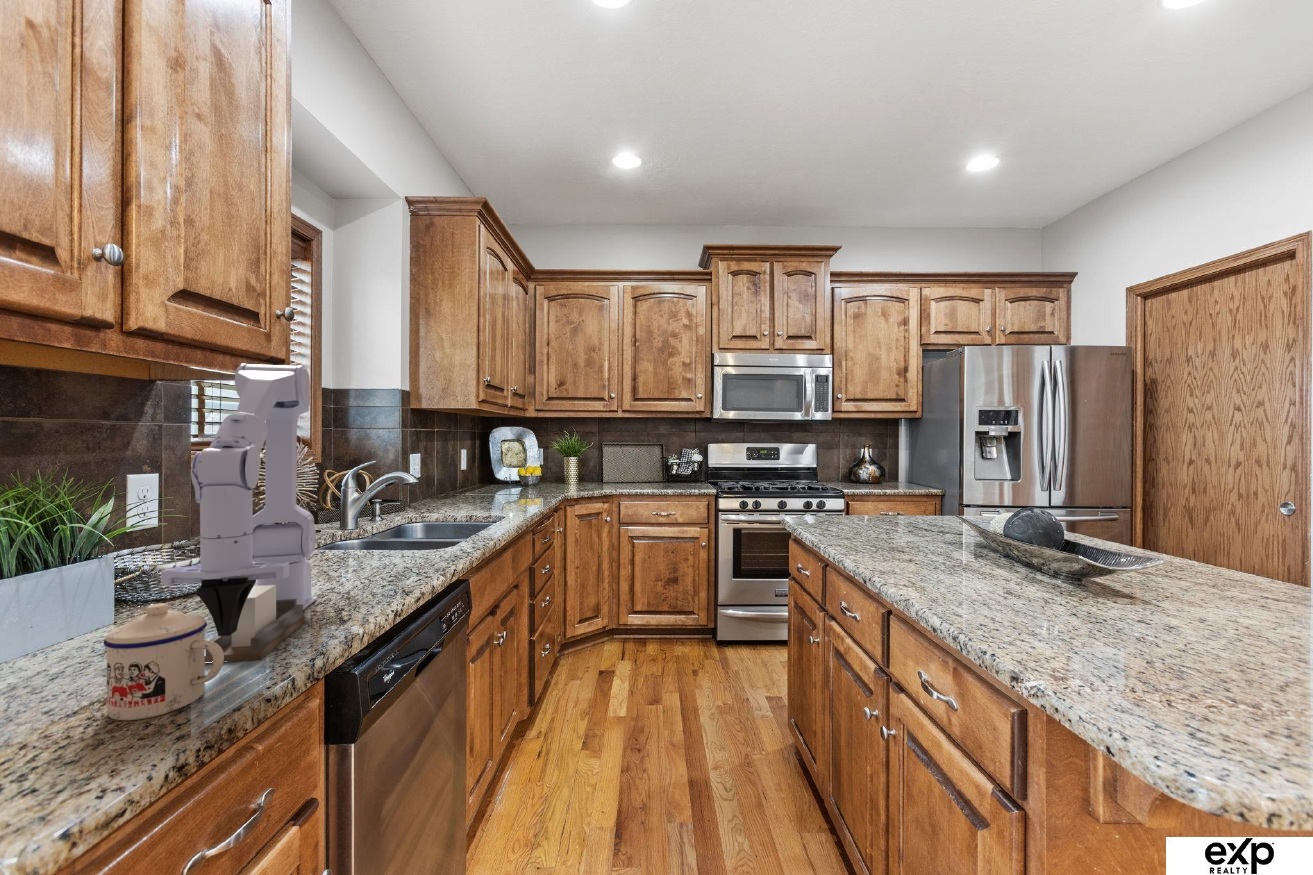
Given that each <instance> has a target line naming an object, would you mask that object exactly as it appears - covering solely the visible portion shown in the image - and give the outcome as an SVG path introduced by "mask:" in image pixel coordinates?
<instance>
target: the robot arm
mask: <svg viewBox="0 0 1313 875" xmlns="http://www.w3.org/2000/svg"><path fill="white" fill-rule="evenodd" d="M234 387H235V388H234V389H235V391H236V394H237V396H238V397H239V401H238V402H239V403H238V406H237V409H236V412H234V413H231V414H228V415H227V416H225V418H224V419H223V420H222V422H221V424H220V426H219V428H218V430H217V431H216V434H215V436H214V438H213V439H212V441H211V443H210V445H209V447H206V448H204V449H202V450H201V451H197V452H196V453H195V454H194V456H193V458H192V462H191V469H190V478H191V482H192V485H193V487H194V493H195V494H194V496H195V497H194V499H195V503H197V504H199V514H200V515H199V522H200V523H199V529H200V530H199V532H200V534H199V537H200V538H199V539H200V540H199V541H200V546H199V547H200V556H199V557H200V563H199V565H191V566H183V567H182V566H181V567H169V568H167V569H164V570H162V571H160V585H161V586H172V585H175V584H177V585H178V584H195V583H196V584H198V583H201V584H200V587H198V588H196V595H197V596H198V598H199V599H200V601H202V603H204V606H205V607H206V609H208V612H209V614H210V616H211V618H212V620H213V623H214V626H215V629H216V632H217V634H218V636H229V635H231V634H233V633H234V632H236V631H237V626H238V622H239V618H240V615H241V612H242V609H243V606H244V604H245V601H246V599H247V597H248V595H249V593H250V591H251V590H252V588H253V587H254V586H264V585H276V600H286V599H297V605H301V604H303V611H304V610H305V609H306V608H308V606H310V605H311V604H313V603H314V602H315V601H316V600H318V597H317V596H312V566H311V563H310V561H309V560H308V559H307V558H309V557H311V555H312V554H314V552H315V549H316V543H317V533H316V531H317V530H316V527H315V518H314V515H313V514H312V513H311V512H310V511H308V510H306V509H305V508H303V507H301V506H300V505H298V504H297V479H298V478H297V462H298V461H297V460H298V456H297V453H298V451H297V450H298V447H297V446H298V444H297V443H298V442H297V441H298V434H297V433H298V432H297V431H298V422H299V417H300V416H301V415H304V414H305V413H307V412H309V411H310V410H309V409H310V405H311V381H310V375H309V371H308V369H307V368H306V367H305V366H304V365H277V364H276V365H274V364H252V363H251V364H249V363H244V362H243V363H241V364H239V365H238V367H237V368H236V370H235V375H234ZM264 444H265V455H264V456H265V460H264V461H265V463H264V464H265V466H264V468H265V471H264V472H265V474H264V477H265V480H264V481H265V482H264V483H265V484H264V486H265V489H264V495H265V496H264V508H262V509H261V510H259V511H258V512H257V513H255V514H254V515H253V506H254V505H253V489H254V488H255V487H256V486H257V484H258V482H259V478H260V468H261V461H262V459H261V456H260V455H261V452H262V449H263V446H264ZM276 523H277V524H276ZM256 583H257V585H256Z"/></svg>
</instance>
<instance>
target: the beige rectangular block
mask: <svg viewBox="0 0 1313 875" xmlns="http://www.w3.org/2000/svg"><path fill="white" fill-rule="evenodd" d="M275 620H276V585H264V586H257V585H254V586H253V588H252V590H251V591H250V593H249V595H248V597H247V599H246V601H245V604H244V606H243V609H242V612H241V615H240V618H239V622H238V626H237V631H236V632H234V633H233V634H232V647H241V646H251V638H253V637H254V636H255V635H257V634H258V633H259V632H261V631H262V630H263V629H265V628H266V627H267V626H269V625H270V624H271V623H273V622H274V621H275Z"/></svg>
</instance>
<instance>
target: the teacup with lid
mask: <svg viewBox="0 0 1313 875" xmlns="http://www.w3.org/2000/svg"><path fill="white" fill-rule="evenodd" d="M207 626H208V624H207V621H206V619H205V618H204V617H203V616H201V615H199V614H191V613H190V614H189V613H183V612H180V611H177V610H172V609H171V610H169V605H168V603H163V602H162V603H155V604H154V603H153V604H151V605H148V606H147V607H146V609H145V614H142V615H140V616H137V617H136V618H134V619H133V620H131V621H130V622H128V623H126V624H122V625H121V626H118V627H116V628H113V629H112V630H110V631H109V632H108V633H106V635H105V637H104V640H103V645H104V646H105V647H106V714H107V716H108V717H109V718H111V719H114V720H118V721H137V720H143V719H150V718H154V717H159V716H162V715H166V714H169V713H171V712H170V711H172V712H174V711H173V710H175V711H177V709H178V710H180V709H182V708H181V707H183V706H185V707H187V706H188V705H187V704H189V705H191V704H193V703H194V702H196V701H197V700H199V697H200V698H201V697H202V696H203V695H204V692H205V688H206V687H205V684H206V683H208V682H209V681H211V680H213V679H214V678H216V677H217V676H218V675H219V674H220V672H221V670H222V668H223V665H224V663H225V662H224V653H223V650H222V648H221V647H220V646H219V645H218V644H217V643H215V642H213V641H208V640H206V639H205V629H206V627H207ZM206 650H207V651H209V652H210V653H211V655H212V657H213V663H211V664H212V665H211V669H210V670H209V672H208V673H207V674H205V673H206V672H205V669H206V668H205V666H206V664H205V655H206ZM201 695H202V696H201ZM196 699H197V700H196ZM195 700H196V701H195ZM193 701H194V702H193ZM192 702H193V703H192ZM190 703H191V704H190ZM186 705H187V706H186ZM179 708H180V709H179ZM183 708H184V707H183ZM168 712H169V713H168ZM165 713H166V714H165Z"/></svg>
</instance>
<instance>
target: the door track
mask: <svg viewBox="0 0 1313 875" xmlns="http://www.w3.org/2000/svg"><path fill="white" fill-rule="evenodd" d="M305 622H306V616H305V615H304V610H303V604H301V605H297V599H286V600H276V620H275V621H274V622H273V623H271V624H270V625H269V626H267V627H266V628H265V629H263V630H262V631H261V632H259V633H258V634H257V635H255V636H254V637H253V638H251V646H241V647H232V634H231V635H229V636H218V633H217V634H216V635H214V636H213V637H212V638H210V639H208V640H207V641H213V642H215V643H217V644H218V645H219V646H220V647H221V648H222V650H223V653H224V661H234V662H243V661H244V662H245V661H256V660H262V659H263V658H264V657H266V656H267V654H269V653H270V652H272V651H273V650H274V649H275V648H277V646H278V645H280V644H281V643H282V642H283V641H284V640H285V639H287V638H288V637H289V636H290V635H291V634H293V633H294V632H295V631H296V630H297V629H299V628H300V627H301V626H302V625H303V624H305ZM212 661H213V657H212V655H211V653H210V652H209V651H207V650H206V649H205V662H212Z"/></svg>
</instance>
